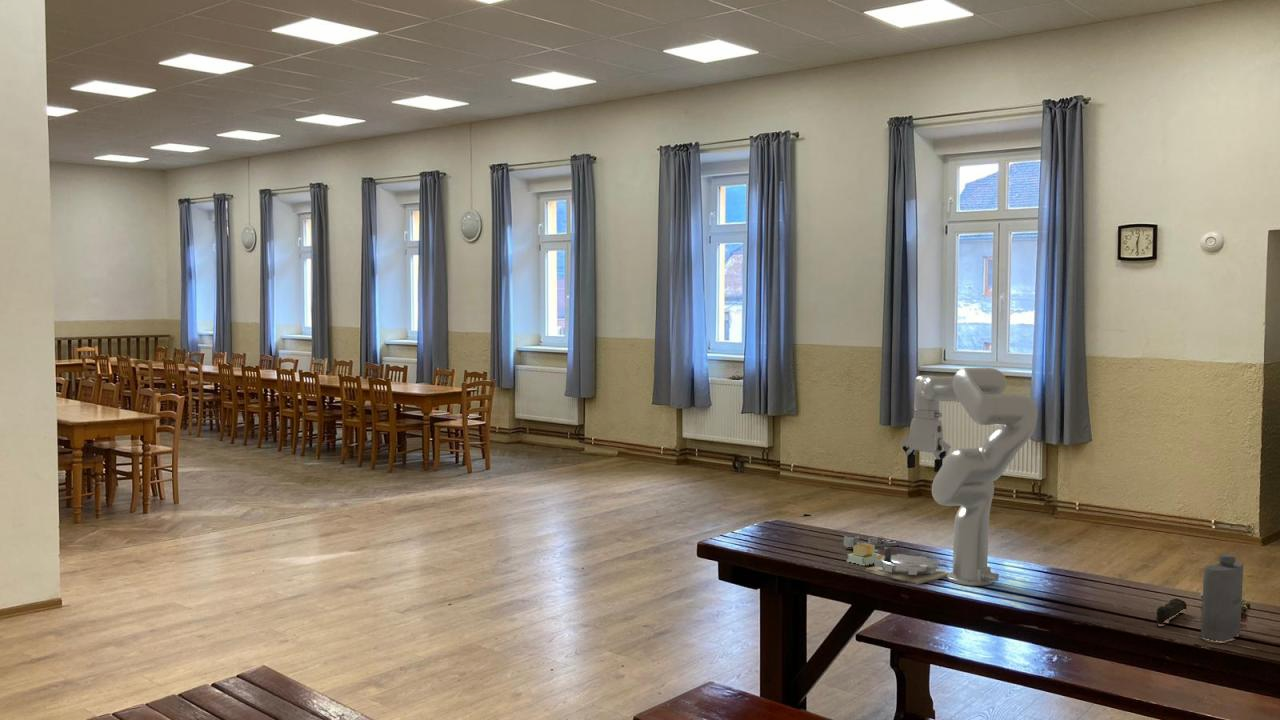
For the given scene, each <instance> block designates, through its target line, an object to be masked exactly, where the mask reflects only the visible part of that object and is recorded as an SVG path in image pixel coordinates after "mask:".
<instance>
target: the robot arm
mask: <svg viewBox="0 0 1280 720" xmlns="http://www.w3.org/2000/svg"><path fill="white" fill-rule="evenodd" d="M1007 383H1008V381H1007V378H1006V376H1005V374H1004V372H1001V371H1000V370H998V369H996V368H993V367H963V368H960V369H958V371H956V372H955V374H954V376H936V375H925V374H923V375H922V374H921V375H917V376H915V380H914V398H913V402H914V404H913V418H912V419H911V422H910V427H909V433H908V437H905V438H904V439H901V440H900V444H901V446H902V450H903V452H905V453H904V454H905V455H906V467H907V469H913V468H915V467H916V455H915V453H916V452H922V453H923V452H925V453H932V454H933V455H934V456H935V458H936V459H934V463H933V464H934V466H933V467H934V469H933V470H934V471H933V472H934V473H936V475H935V476H934V479H933V481H932V484H931V495H932V498H933V500H934V501H935V502H936V503H937V504H938V505H941V506H945V507H946V506H947V507H949V506H950V507H952V506H953V507H955V506H957V507H958V506H960V507H959V508H958V510H957V512H956V514H955V518H954V525H953V549H952V550H953V553H952V572H949V574H947V577H946V579H947V581H949V582H951V583H954V584H958V585H963V586H970V587H971V586H972V587H973V586H974V587H981V586H982V587H985V586H990V585H991V584H993V582H998V581H999V577H1000V574H999V573H996V572H992V571H991V568H992V567H990V566H988V558H989V557H988V555H989V554H988V553H989V534H990V533H989V532H990V531H989V529H990V515H991V513H990V512H991V507H992V502H993V498H994V493H995V484H994V481H997V480H998V479H999V478H1000V477H1001V476H1002V475H1003V473H1004V472H1005V471H1006V469H1007V468H1008V466H1009V465H1010V463H1011V462H1012V461H1013V459H1014V458H1015V457H1016V455H1017V454H1018V453H1019V451H1020V450H1021V449H1022V448H1023V447H1024V445H1026V443H1027V442H1028V441H1029V440H1030V438H1031V437H1032V435H1033V433H1034V431H1035V429H1036V426H1037V421H1038V407H1037V406H1036V403H1035V402H1034V401H1033V400H1032V398H1030V397H1028V396H1025V395H1022V394H1014V393H1004V392H1005V390H1006V388H1007V386H1008V385H1007ZM940 402H960V404H961V405H962V407H963V409H965V412H967V414H968V415H969V417H970V419H971V420H972V421H973V422H975V423H976V424H978V425H981V426H1001V427H999V428H997V429H996V430H995V431H993V432H992V433H991V434H990V435H989V436H988V437H987V438H986V440H985V442H984V443H983V444H982V445H981V446H979V447H972V448H971V447H970V448H969V447H965V448H957V449H955V450H953V451H952V452H950V450H951V448H952V446H951V445H949V444H948V443H947V442H946V441H944V431H943V424H942V420H940V418H942V416H943V413H942V412H940ZM949 452H950V453H949ZM946 456H947V457H946ZM945 457H946V458H945ZM944 459H945V460H944ZM943 461H944V462H943Z"/></svg>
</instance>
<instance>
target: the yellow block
mask: <svg viewBox="0 0 1280 720" xmlns="http://www.w3.org/2000/svg"><path fill="white" fill-rule="evenodd" d="M867 543H868V542H865V543H863V544H862V543H860V544H858V545H854V546H853V548H852V549H853V550H852V552H853V556H858V557H862V558H865V557H870V556H874V555H875V550H876V547H875V545H872V544H869V543H868V544H867Z"/></svg>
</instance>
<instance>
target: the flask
mask: <svg viewBox="0 0 1280 720" xmlns="http://www.w3.org/2000/svg"><path fill="white" fill-rule="evenodd" d="M1243 580H1244V564H1243V563H1242V562H1240V561H1236V557H1235V556H1233V555H1231V554H1223V553H1222V554H1220V555H1218V563H1216V564H1212V565H1207V566H1204V568H1203V582H1202V586H1203V587H1202V601H1201V602H1202V604H1201V607H1202V608H1201V623H1200V625H1201V626H1200V629H1201V630H1200V638H1201V637H1202V638H1205V639H1209V640H1213V641H1216V640H1217V641H1225V640H1229V639H1232V638H1233V637H1235V636H1237V635H1238V634H1239V633H1240V634H1241V623H1242V622H1241V621H1242V604H1243V603H1242V601H1243V599H1242V598H1243V582H1244V581H1243Z"/></svg>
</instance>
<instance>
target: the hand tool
mask: <svg viewBox="0 0 1280 720" xmlns="http://www.w3.org/2000/svg"><path fill="white" fill-rule="evenodd" d="M1183 609H1186V610H1187V603H1186V601H1185V600H1182V599H1180V598H1172V599H1170V600H1169V603H1166V604H1165V605H1164V606H1162V605H1161V606H1159V607H1157V609H1156V616H1155V619H1156V624H1157V623H1162V622H1164V621H1165V620H1167V619H1169V618H1170V617H1172V616H1174V615H1176V614H1177V613H1179V612H1180V611H1181V610H1183Z"/></svg>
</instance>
